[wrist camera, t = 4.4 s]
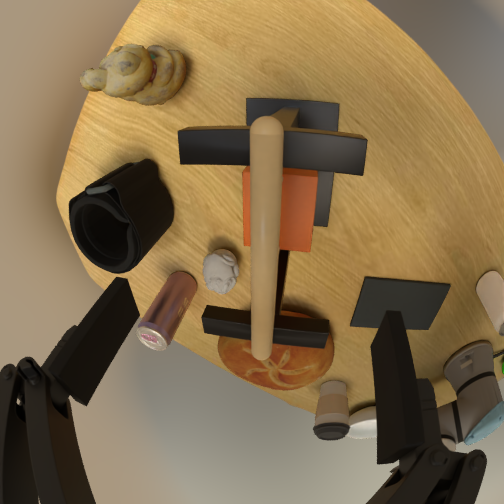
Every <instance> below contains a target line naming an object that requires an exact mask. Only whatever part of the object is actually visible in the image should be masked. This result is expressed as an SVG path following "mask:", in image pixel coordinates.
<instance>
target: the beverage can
mask: <svg viewBox="0 0 504 504" xmlns="http://www.w3.org/2000/svg"><path fill="white" fill-rule="evenodd" d="M196 291H197V285H196V282H195V280H194V279H193V277H192V276H190V275H189V274H187V273H185V272H175V273H172V274H171V275H170V276H169V278H168V279H167V281H166V282H165V284H164V285H163V287H162V289H161V290H160V292H159V293H158V295H157V296H156V298H155V299H154V301H153V303H152V304H151V306H150V307H149V309H148V310H147V312H146V314H145V315H144V317H143V318H142V320H141V322H140V323H139V325H138V329H137V331H136V334H137V336H138V338H139V340H140V341H141V342H142V343H143V344H144V345H146V346H147V347H149V348H151V349H154V350H158V351H162V350H165V349H166V348H167V346H168V345H169V344H170V343H171V341H172V339H173V337H174V335H175V333H176V331H177V329H178V327H179V325H180V323H181V321H182V319H183V317H184V315H185V313H186V311H187V309H188V307H189V305H190V303H191V301H192V299H193V297H194V295H195V293H196Z"/></svg>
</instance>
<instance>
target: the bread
mask: <svg viewBox="0 0 504 504" xmlns="http://www.w3.org/2000/svg"><path fill="white" fill-rule="evenodd" d="M280 315H286V316H295V317H305V318H312V317H310V316H308V315H305V314H301V313H296V312H290V311H281V314H280ZM218 352H219V356H220V358H221V360H222V362H223V363H224V365H225V366H226V367H227V368H228V369H229V370H230V371H232V372H233V373H235V374H236V375H237V376H239V377H241V378H243V379H245V380H247V381H249V382H252V383H254V384H257V385H261V386H263V387H268V388H271V389H275V390H293V389H298V388H301V387H304V386H306V385H309V384H311V383H312V382H314V381H316V380H318V379H319V378H321V377H322V376H323V375H324V374H325V373H326V372H327V371H328V369H329V368H330V366H331V364H332V362H333V357H334V343H333V340H332V337H331V335H330V334H329V336H328V339H327V342H326V346H325V348H324V349H320V348H309V347H298V346H289V345H280V344H272V352H271V355H270V356H269V358H267V359H265V360H258V359H256V358H255V357H254V356H253V355H252V351H251V341H250V340H243V339H237V338H230V337H224V336H220V337H219V341H218Z"/></svg>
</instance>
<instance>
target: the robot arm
mask: <svg viewBox="0 0 504 504" xmlns="http://www.w3.org/2000/svg"><path fill="white" fill-rule="evenodd" d="M139 316H140V314H139V311H138V308H137V305H136V303H135V300H134V297H133V294H132V291H131V288H130V285H129V282H128V279H126V278H121V277H116V278H115V279H114V280H113V281H112V283H111V284H110V285H109V286H108V288H107V289H106V290H105V291H104V293H103V294H102V295H101V296H100V298H99V299H98V300H97V301H96V303H95V304H94V305H93V307H92V308H91V309H90V311H89V312H88V313H87V314H86V316H85V317H84V318H83V320H82V321H81V322H80V324H79V325H78V326H76V325H74V326H73V327H71V328H70V329H69V330H67V331H66V333H65V334H64V335H63V337H62V339H61V340H60V341H59V342H58V344H57V346H55V348H54V349H53V351H52V352H51V354H50V355H49V356H48V358H47V359H46V361H45V363H44V364H43V365H42V366H41V367H40V366H39V365H38V364H37V363H36V361H35V360H34V359H33V358H32V357H25V358H23V359H21V360H20V361H19V363H18V364H17V366H16V367H15V366H14V365H13V364H7V365H6V366H4V367H3V368H2V370H1V372H0V504H39V502H38V501H39V500H40V503H41V504H96V502H95V500H94V497H93V494H92V491H91V488H90V485H89V482H88V479H87V476H86V472H85V469H84V465H83V462H82V458H81V454H80V450H79V446H78V442H77V437H76V432H75V427H74V422H73V416H72V410H71V404H70V401H69V399H68V397H69V396H70V395H71V396H72V397H73V399H75V401H77V402H79V403H81V404H83V405H85V406H87V405H88V403H89V401H90V399H91V397H92V395H93V394H94V392H95V390H96V388H97V386H98V385H99V383H100V381H101V379H102V378H103V376H104V374H105V372H106V370H107V369H108V367H109V365H110V364H111V362H112V360H113V359H114V357H115V355H116V353H117V352H118V350H119V348H120V347H121V345H122V343H123V342H124V340H125V338H126V337H127V335H128V333H129V332H130V330H131V328H132V327H133V325H134V324H135V322H136V321H137V319H138V317H139ZM370 347H371V355H372V365H373V375H374V387H375V401H376V421H377V464H388V463H394V462H396V461H397V460H399V466H397V467H395V468H393V469H392V470H391V471H390V472H391V473H392V472H393V473H392V475H391V476H390V477H389V478H388V480H387V481H386V482H385V483H384V484H383V486H382V487H381V488H380V489H379V490H378V491H377V492H376V494H375V495H374V496H373V497H372V498H371V499H370V500H369V501H368V502H367V503H366V504H474V503H475V501H476V498H477V495H478V492H479V489H480V486H481V483H482V480H483V476H484V473H485V469H486V464H487V458H486V455H485V454H484V452H483V451H481V450H473V451H471V452H469V453H468V454H467V453H459V452H455V450H456V444H458V443H460V442H462V441H464V443H465V444H466V445H471V444H473V443H475V442H477V441H480V440H481V439H483V438H485V437H486V436H488V435H489V434H491V433H492V432H493V431H494V430H496V429H497V428H498V427H499V426H500V425H501V424H502V423H503V421H504V401H503V400H502V396H501V392H500V389H499V386H498V383H497V379H496V376H495V373H494V362H493V358H495V357H498V356H500V355H502V354H504V351H502V352H500V353H497V354H495V355H493V348H492V346H491V344H490V342H488V341H477V342H473V343H471V344H469V345H467V346H465V347H463V348H461V349H460V350H458V351H457V352H456V353H454V354H453V355H452V356H451V357H450V358H449V359H448V361H447V362H446V364H445V366H444V374H445V377H446V379H447V380H448V381H449V382H450V383H451V385H452V387H453V389H454V390H455V392H456V396H457V400H455V401H453V402H450V403H448V404H445V405H443V406H440V407H438V408H437V404H436V401H435V393H434V388H433V386H432V384H431V383H430V381H429V380H428V378H421V379H416V374H415V369H414V364H413V359H412V354H411V350H410V345H409V341H408V337H407V333H406V329H405V325H404V321H403V317H402V314H401V311H393V310H386V313H385V315H384V318H383V320H382V322H381V324H380V327H379V329H378V331H377V333H376V336H375V338H374V340H373V342H372V344H371V346H370ZM17 398H18V399H19V400H20V404H19V405H18V404H17ZM38 496H39V500H38Z"/></svg>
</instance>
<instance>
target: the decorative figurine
mask: <svg viewBox="0 0 504 504" xmlns="http://www.w3.org/2000/svg"><path fill="white" fill-rule="evenodd" d="M185 75H186V64H185V61H184V58H183V56H182V54H181V52H180V51H178V50H176V51H175V50H166V49H165V48H164V47H162V46H158V45H152V46H149V47H148V48H147V50H146V49H145V48H144V46H141V45H136V44H126V45H124V46H119V47H117V48H115V49H114V51H113V52H111V53H110V54H109V55H108V56H107V57H105V58H104V59H103V60H102V61H101V63H100V67H99V69H93V68H91V69H88V70H86V71H84V72H83V73H82V75H81V76H80V83H81V85H82V86H83V88H85V89H86V90H89V91H92V92H96V91H103V92H104V93H105V94H107V95H109V96H111V97H115V98H117V97H119V98H122V99H124V100H127V101H136V102H138V103H139V104H142V105H157V104H158V105H162V104H164V103H165V102H166V100H168V99H170V98H171V97H172V96H174V95H175V94H176V92H177V91H178V90H179V89H180V87H181V85H182V84H183V82H184V79H185Z"/></svg>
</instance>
